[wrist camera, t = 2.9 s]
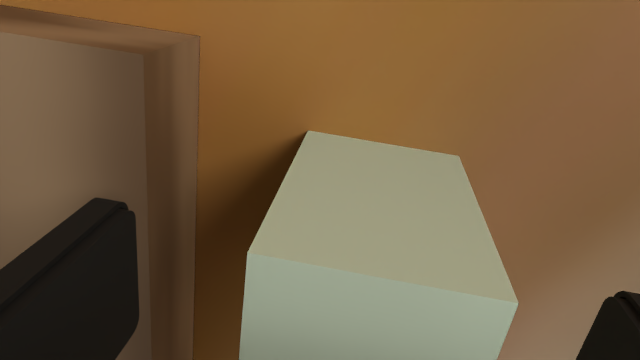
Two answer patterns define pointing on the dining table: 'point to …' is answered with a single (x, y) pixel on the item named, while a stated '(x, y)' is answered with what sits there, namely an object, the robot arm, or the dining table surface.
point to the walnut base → (105, 151)
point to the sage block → (374, 260)
